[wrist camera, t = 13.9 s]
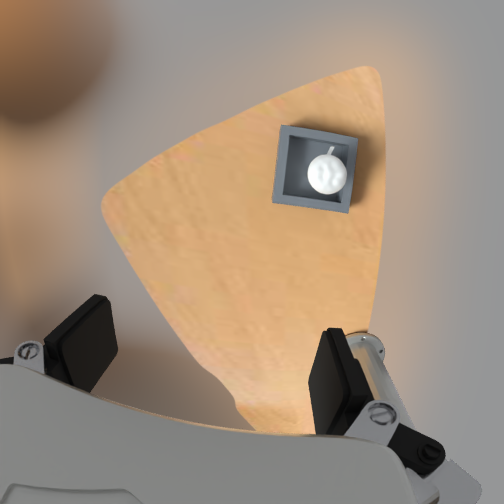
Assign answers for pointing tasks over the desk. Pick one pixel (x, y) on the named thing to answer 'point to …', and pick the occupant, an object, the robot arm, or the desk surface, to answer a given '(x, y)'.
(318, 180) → the milkshake
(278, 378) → the desk surface
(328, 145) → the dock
